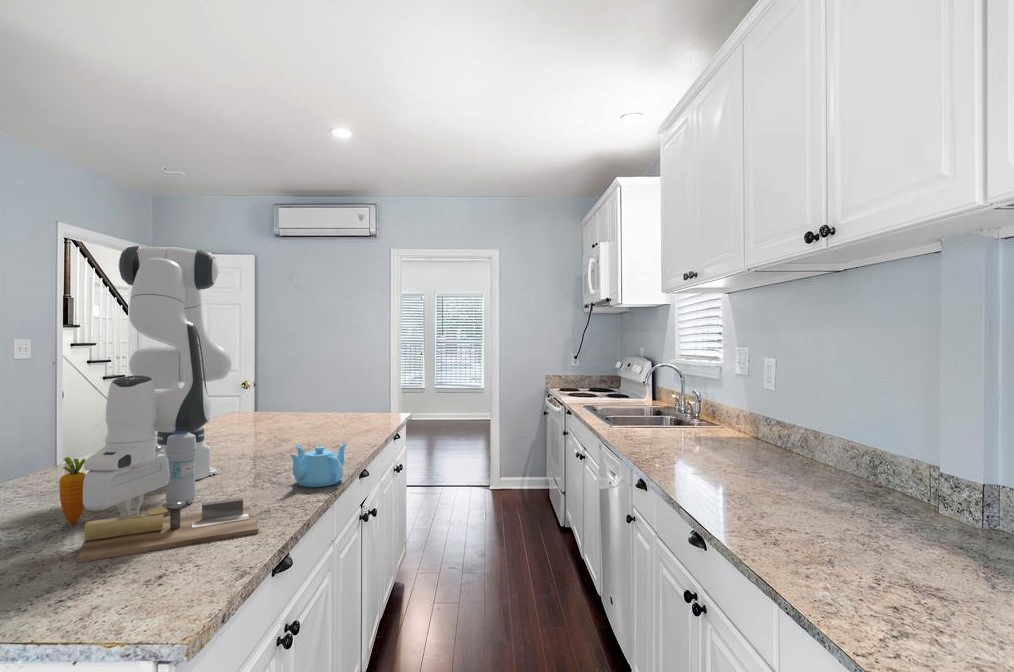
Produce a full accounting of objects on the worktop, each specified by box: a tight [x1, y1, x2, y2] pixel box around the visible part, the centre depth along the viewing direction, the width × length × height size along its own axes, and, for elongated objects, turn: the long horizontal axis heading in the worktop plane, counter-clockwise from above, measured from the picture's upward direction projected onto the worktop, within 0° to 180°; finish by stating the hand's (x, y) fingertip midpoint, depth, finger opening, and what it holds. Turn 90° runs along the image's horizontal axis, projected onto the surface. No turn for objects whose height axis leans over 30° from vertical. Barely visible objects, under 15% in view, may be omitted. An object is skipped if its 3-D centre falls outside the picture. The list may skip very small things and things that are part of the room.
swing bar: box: [83, 500, 187, 542], centre depth 109 cm, size 17×4×5 cm, turn 121°
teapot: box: [289, 442, 348, 488], centre depth 153 cm, size 15×15×10 cm
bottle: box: [165, 431, 197, 505], centre depth 133 cm, size 7×7×20 cm
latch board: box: [77, 497, 260, 563], centre depth 113 cm, size 18×30×5 cm, turn 121°
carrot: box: [58, 456, 87, 527], centre depth 117 cm, size 5×5×15 cm
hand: (129, 518), depth 113 cm, fingers closed
